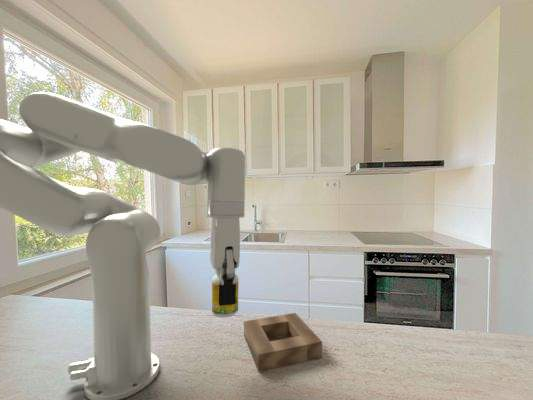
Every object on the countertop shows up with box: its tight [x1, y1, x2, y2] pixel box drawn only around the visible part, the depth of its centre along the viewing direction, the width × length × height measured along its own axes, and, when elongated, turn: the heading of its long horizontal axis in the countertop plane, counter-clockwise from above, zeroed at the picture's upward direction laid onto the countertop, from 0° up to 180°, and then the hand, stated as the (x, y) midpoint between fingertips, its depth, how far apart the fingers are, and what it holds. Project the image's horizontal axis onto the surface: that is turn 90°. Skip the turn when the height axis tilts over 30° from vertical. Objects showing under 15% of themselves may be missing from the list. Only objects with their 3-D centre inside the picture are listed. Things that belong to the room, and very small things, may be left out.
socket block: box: [243, 312, 323, 373], centre depth 57 cm, size 14×14×4 cm
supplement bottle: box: [211, 265, 239, 319], centre depth 51 cm, size 5×5×10 cm
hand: (225, 297), depth 51 cm, fingers closed on supplement bottle, 5 cm apart
